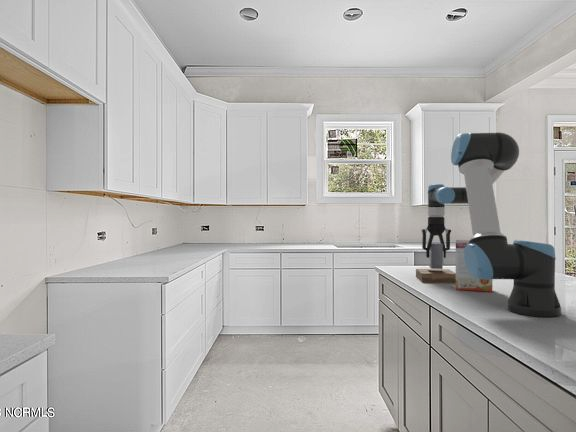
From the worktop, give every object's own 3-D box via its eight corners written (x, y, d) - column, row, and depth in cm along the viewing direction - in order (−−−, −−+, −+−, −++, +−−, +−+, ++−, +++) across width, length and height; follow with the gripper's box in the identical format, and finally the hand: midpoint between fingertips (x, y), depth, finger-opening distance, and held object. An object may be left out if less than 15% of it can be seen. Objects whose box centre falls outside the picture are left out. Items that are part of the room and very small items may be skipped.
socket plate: (457, 283, 186) (457, 274, 186) (421, 282, 188) (421, 273, 188) (448, 277, 202) (448, 269, 202) (415, 276, 204) (415, 268, 204)
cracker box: (491, 289, 170) (491, 240, 170) (492, 292, 165) (492, 241, 164) (455, 287, 176) (455, 239, 175) (455, 289, 170) (455, 240, 170)
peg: (442, 268, 193) (442, 243, 192) (431, 268, 193) (431, 243, 193) (440, 267, 198) (440, 242, 197) (429, 267, 198) (429, 242, 198)
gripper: (453, 216, 197) (453, 263, 198) (415, 216, 200) (415, 263, 200) (457, 216, 190) (457, 265, 190) (418, 216, 192) (418, 265, 193)
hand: (435, 264), depth 195 cm, fingers closed on peg, 5 cm apart
